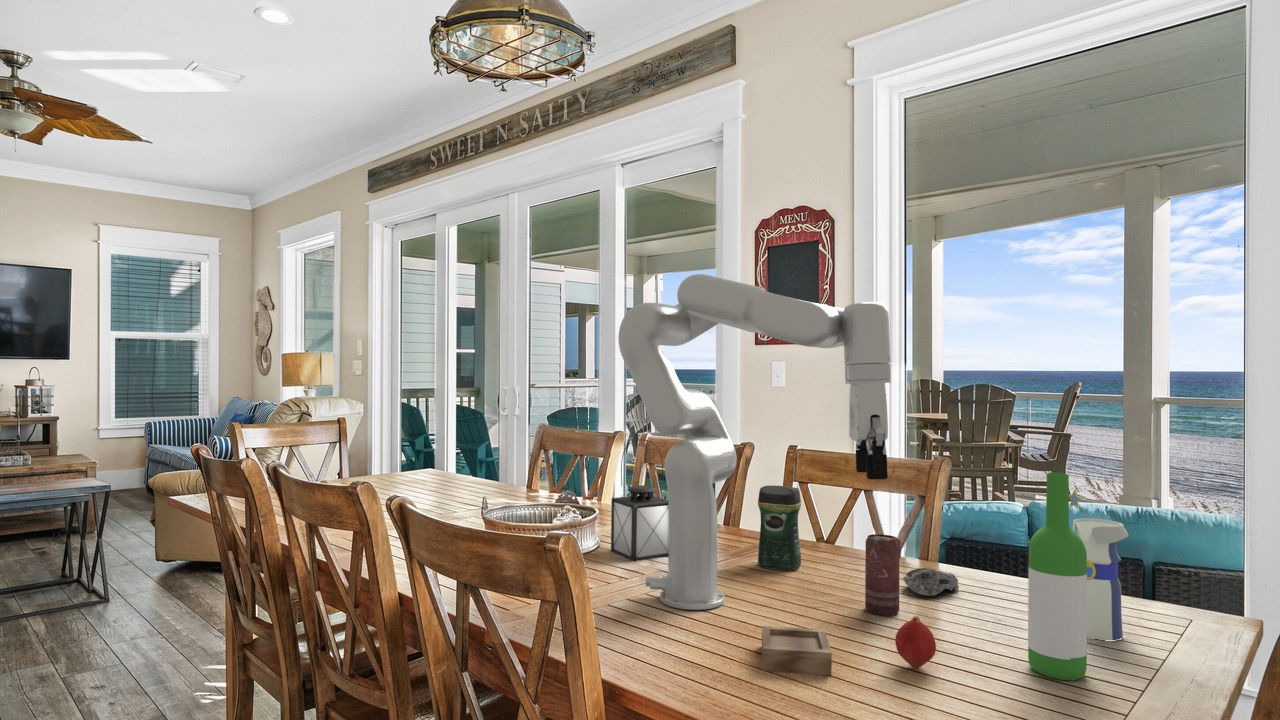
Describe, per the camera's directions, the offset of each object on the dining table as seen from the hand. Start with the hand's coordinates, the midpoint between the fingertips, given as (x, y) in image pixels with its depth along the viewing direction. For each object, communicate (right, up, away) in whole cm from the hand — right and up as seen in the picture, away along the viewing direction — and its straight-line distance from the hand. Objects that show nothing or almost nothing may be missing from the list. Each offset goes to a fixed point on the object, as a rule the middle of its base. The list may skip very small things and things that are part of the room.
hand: (871, 475), depth 126 cm
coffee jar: (-7, -28, +45) cm, 54 cm away
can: (+6, -28, +14) cm, 32 cm away
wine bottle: (+24, -28, -14) cm, 39 cm away
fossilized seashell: (+20, -29, +26) cm, 44 cm away
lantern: (-39, -28, +56) cm, 73 cm away
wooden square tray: (-15, -27, -11) cm, 33 cm away
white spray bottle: (+40, -28, +3) cm, 49 cm away
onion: (+3, -28, -13) cm, 31 cm away
